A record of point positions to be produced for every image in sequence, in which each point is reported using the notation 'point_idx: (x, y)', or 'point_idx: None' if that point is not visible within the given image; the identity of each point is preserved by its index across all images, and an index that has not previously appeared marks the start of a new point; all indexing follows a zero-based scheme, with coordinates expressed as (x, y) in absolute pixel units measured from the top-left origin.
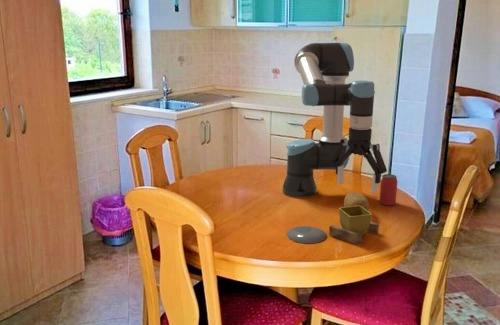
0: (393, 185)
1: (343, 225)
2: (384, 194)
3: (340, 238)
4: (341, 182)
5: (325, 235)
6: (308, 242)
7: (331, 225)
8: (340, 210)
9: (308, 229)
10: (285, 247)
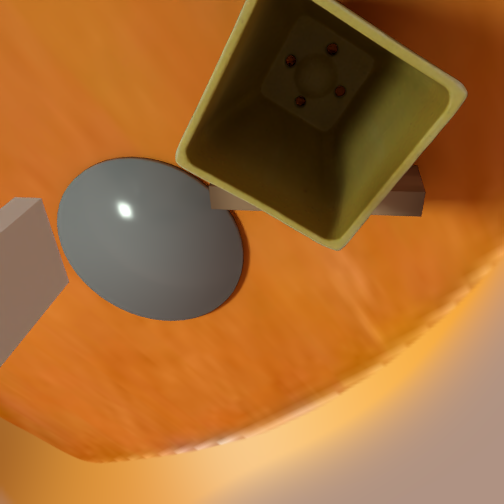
0: None
1: (262, 145)
2: None
3: None
4: (43, 239)
5: (218, 209)
6: (215, 307)
7: (212, 194)
8: (205, 175)
9: (112, 201)
10: (181, 366)
